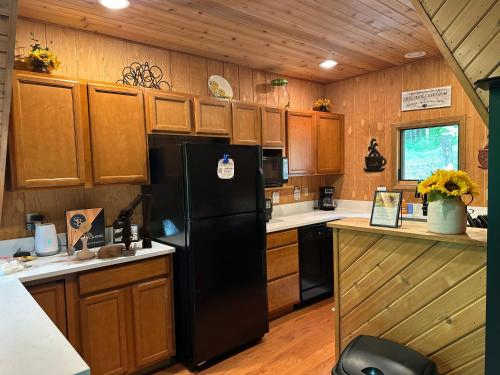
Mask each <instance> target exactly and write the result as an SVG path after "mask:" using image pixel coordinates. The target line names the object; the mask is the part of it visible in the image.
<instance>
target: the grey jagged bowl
mask: <svg viewBox="0 0 500 375" xmlns="http://www.w3.org/2000/svg"><path fill="white" fill-rule="evenodd" d="M137 246H138V245H137V242H135V243H134V245H132V248H131V249H129V250H128V251H127V250H124V249H123V250H121V257H124V256H136V253H137V248H138V247H137Z"/></svg>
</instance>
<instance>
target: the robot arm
mask: <svg viewBox="0 0 500 375" xmlns="http://www.w3.org/2000/svg"><path fill="white" fill-rule="evenodd" d="M155 200H156V198H155V196H154V195H153V194H144V193H140V194H137V196H136V197H135V198H134V199H133V200H132V201H131V202H130V204H128V205H127V206H124V207H123V208H122V209H121V210H120V211H119V214H118V217H117V218H116V219H114V221H113V222H112V225H111V226H112V229H114V230H115V231H116V230H120V231H118V232H115V233H114V234H113V237H114V239H115V240H118V239H119V238H121V239H120V242H121V243H123V245H125V247H126V250H127V251H128V250H129V247H130V244H131V245H132V242H133V239H134V238H133V237H134V233H133V232H132V229H133V228H132V221H133V220H134V218H133V215H134V213H135V209H137V207H138V206H139V205H140V204H141V203H143V206H144V208H143V215H142V216H143V218H142V224H141V226H140V227H139V228H138V236H139V239H140V240H142V241H141V248H142V249H152V248H153V244H152V243H153V242H152V240H154V238H155V235H154V234H152V228H151V227H150V223H151V213H152V206H153V205H154V204H155Z"/></svg>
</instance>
